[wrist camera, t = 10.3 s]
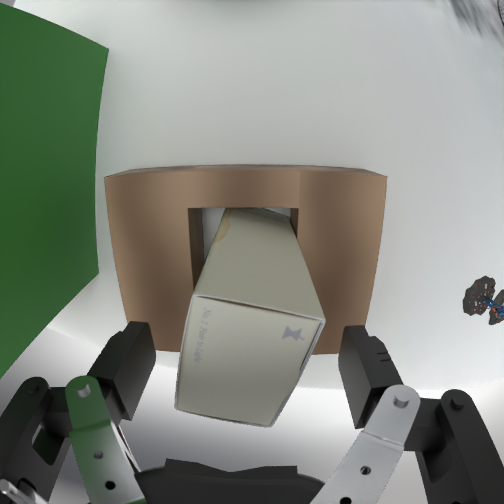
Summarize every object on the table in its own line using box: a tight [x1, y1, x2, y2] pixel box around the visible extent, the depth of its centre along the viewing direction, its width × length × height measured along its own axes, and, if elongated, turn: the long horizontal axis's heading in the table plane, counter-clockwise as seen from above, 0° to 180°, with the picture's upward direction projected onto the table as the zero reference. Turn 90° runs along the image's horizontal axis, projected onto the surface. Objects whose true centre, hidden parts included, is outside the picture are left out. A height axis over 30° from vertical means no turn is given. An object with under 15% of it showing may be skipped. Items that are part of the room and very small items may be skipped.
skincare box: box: [175, 207, 326, 427], centre depth 15 cm, size 6×4×12 cm
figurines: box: [463, 276, 504, 325], centre depth 21 cm, size 10×5×4 cm, turn 71°
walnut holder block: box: [104, 165, 387, 355], centre depth 19 cm, size 16×12×4 cm
